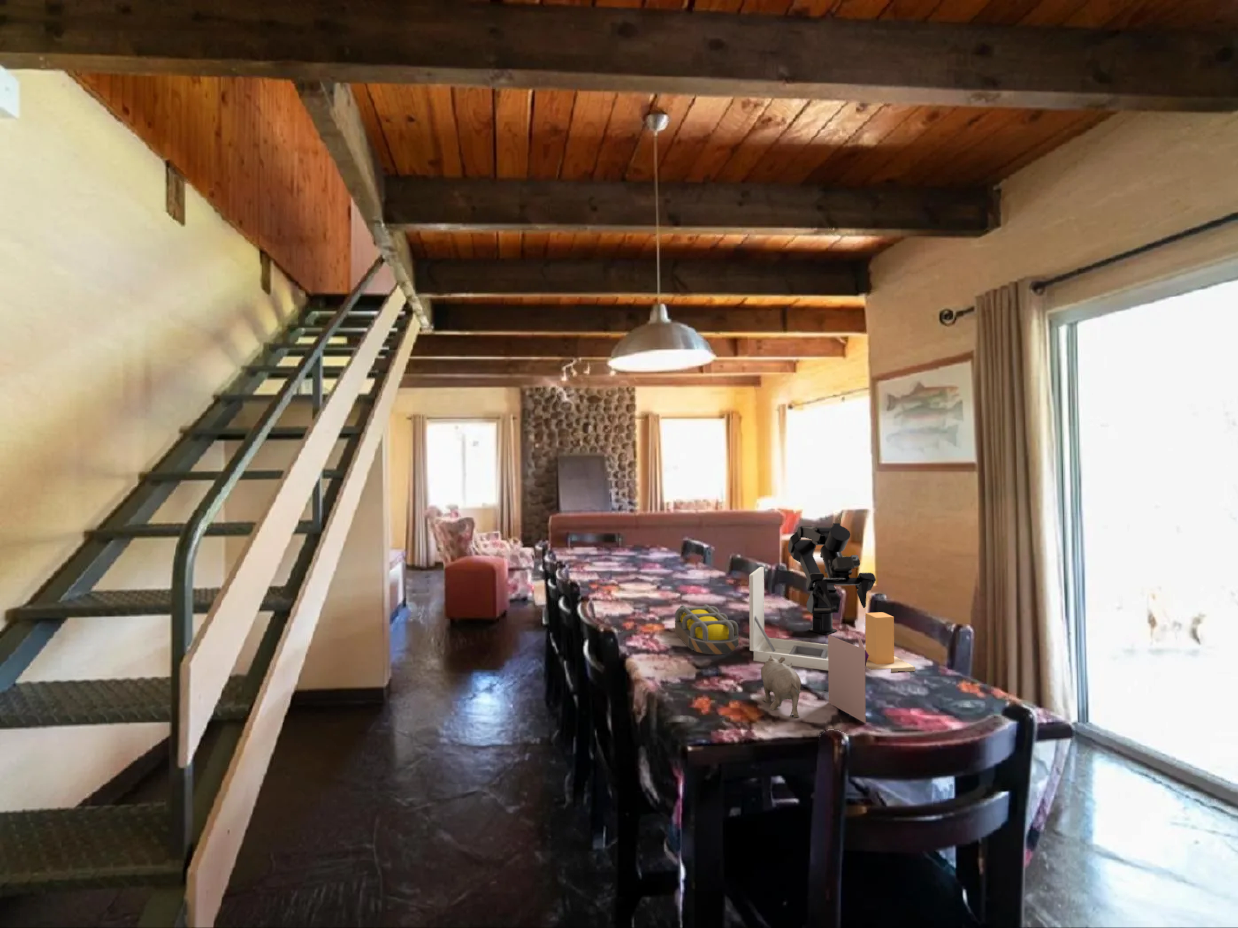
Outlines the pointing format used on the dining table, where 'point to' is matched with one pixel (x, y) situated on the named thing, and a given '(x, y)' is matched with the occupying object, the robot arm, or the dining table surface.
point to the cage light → (706, 630)
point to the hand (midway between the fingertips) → (848, 607)
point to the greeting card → (847, 677)
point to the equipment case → (777, 648)
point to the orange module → (879, 637)
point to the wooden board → (891, 665)
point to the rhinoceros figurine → (781, 684)
